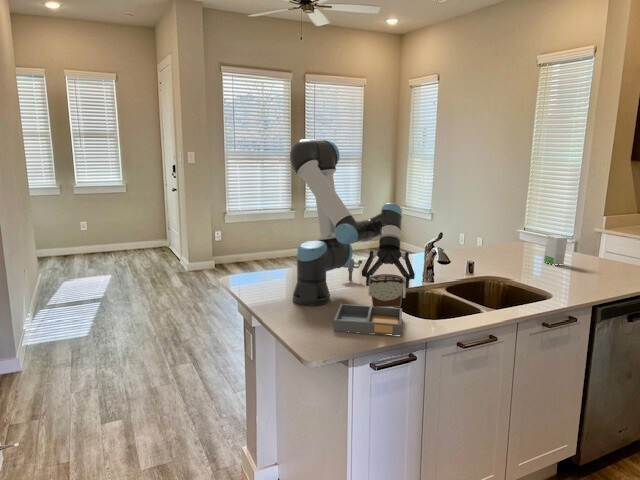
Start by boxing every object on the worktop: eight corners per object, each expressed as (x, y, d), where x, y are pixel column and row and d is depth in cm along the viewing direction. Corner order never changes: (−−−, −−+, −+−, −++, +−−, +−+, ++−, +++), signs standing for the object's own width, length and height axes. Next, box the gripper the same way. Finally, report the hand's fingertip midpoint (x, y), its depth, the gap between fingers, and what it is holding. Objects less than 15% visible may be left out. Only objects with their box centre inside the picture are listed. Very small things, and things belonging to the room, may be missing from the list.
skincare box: (543, 262, 253) (546, 234, 250) (553, 261, 255) (556, 234, 252) (554, 266, 245) (557, 237, 242) (564, 265, 247) (568, 237, 244)
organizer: (333, 331, 154) (333, 320, 153) (340, 314, 170) (340, 303, 169) (400, 337, 150) (401, 325, 149) (401, 318, 166) (402, 308, 166)
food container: (402, 301, 160) (402, 273, 158) (405, 306, 154) (405, 278, 152) (367, 301, 160) (366, 273, 159) (368, 307, 154) (367, 278, 153)
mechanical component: (360, 281, 212) (361, 260, 210) (338, 280, 214) (339, 259, 212) (361, 279, 215) (362, 259, 213) (339, 278, 217) (340, 257, 215)
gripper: (422, 247, 167) (421, 302, 155) (358, 245, 171) (353, 298, 159) (423, 236, 161) (422, 291, 149) (357, 233, 165) (351, 287, 153)
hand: (386, 295), depth 154 cm, fingers closed on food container, 11 cm apart
